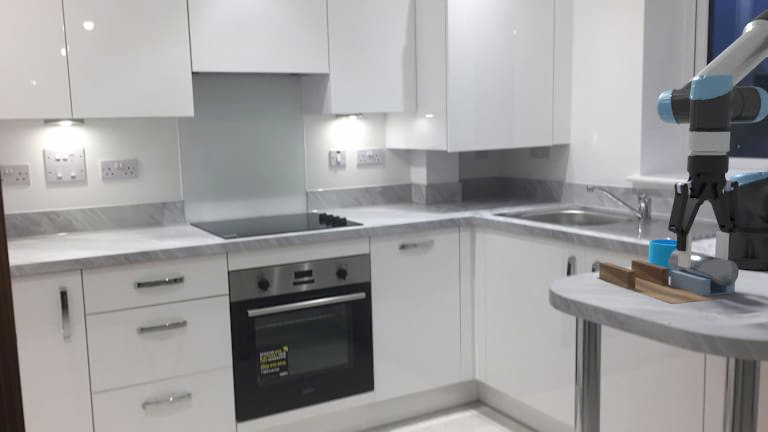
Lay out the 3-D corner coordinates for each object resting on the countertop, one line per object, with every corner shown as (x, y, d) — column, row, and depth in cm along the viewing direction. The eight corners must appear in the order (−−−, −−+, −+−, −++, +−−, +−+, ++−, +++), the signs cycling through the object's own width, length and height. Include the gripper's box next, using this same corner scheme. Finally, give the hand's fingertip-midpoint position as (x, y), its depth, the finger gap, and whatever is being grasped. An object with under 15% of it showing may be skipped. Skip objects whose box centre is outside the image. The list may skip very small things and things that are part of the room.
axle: (665, 268, 148) (673, 246, 148) (682, 275, 150) (691, 253, 150) (714, 282, 135) (723, 257, 135) (733, 289, 137) (742, 265, 137)
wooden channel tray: (634, 280, 157) (635, 259, 156) (714, 306, 134) (715, 281, 134) (596, 284, 154) (596, 262, 154) (670, 311, 131) (672, 285, 131)
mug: (679, 283, 155) (681, 246, 154) (642, 278, 160) (643, 242, 159) (696, 273, 164) (697, 239, 163) (660, 269, 169) (662, 236, 168)
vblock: (699, 288, 149) (700, 268, 148) (736, 299, 140) (737, 277, 139) (668, 291, 147) (669, 270, 146) (703, 303, 137) (704, 280, 137)
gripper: (736, 151, 146) (730, 258, 149) (650, 154, 140) (646, 265, 143) (765, 153, 139) (759, 265, 142) (676, 155, 133) (671, 272, 136)
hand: (702, 265), depth 142 cm, fingers open, 8 cm apart
